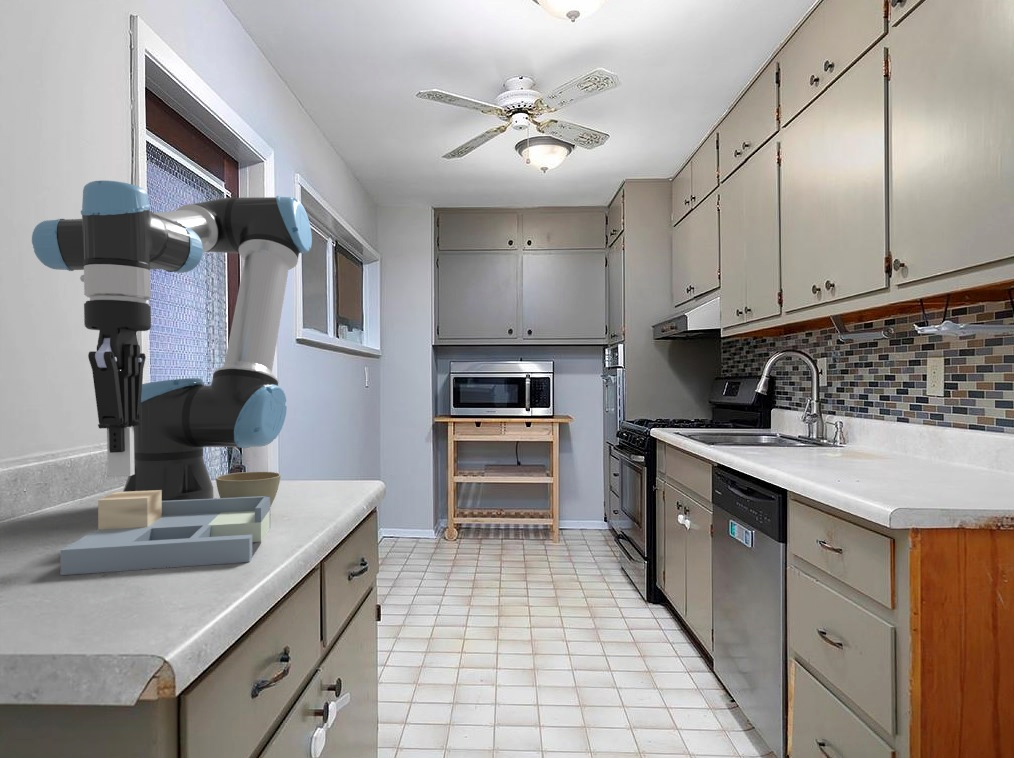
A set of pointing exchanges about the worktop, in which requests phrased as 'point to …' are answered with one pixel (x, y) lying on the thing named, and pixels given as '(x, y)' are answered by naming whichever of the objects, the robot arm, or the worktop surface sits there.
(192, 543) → the tray
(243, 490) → the tan bowl
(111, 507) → the block
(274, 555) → the worktop surface
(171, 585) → the worktop surface
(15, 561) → the worktop surface
